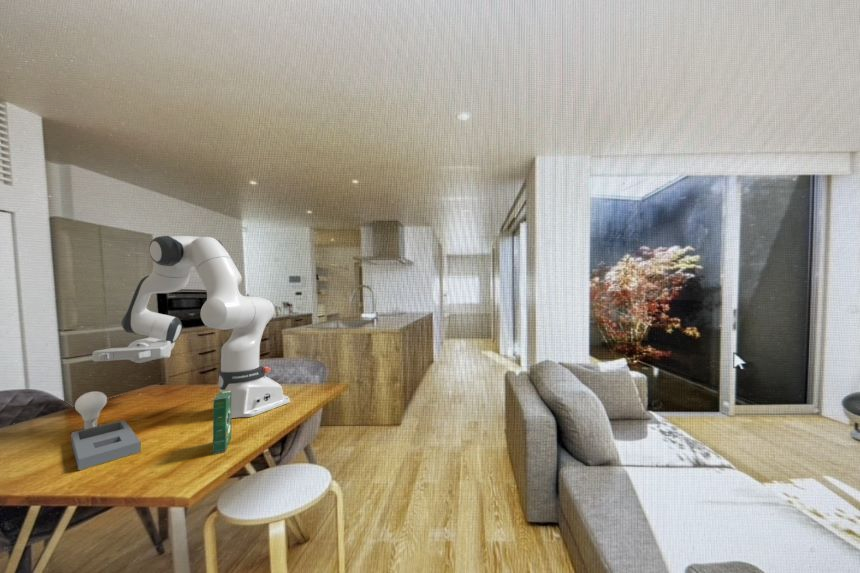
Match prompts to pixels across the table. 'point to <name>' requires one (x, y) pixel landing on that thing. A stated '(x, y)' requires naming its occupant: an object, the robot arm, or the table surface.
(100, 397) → the lightbulb
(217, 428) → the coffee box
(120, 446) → the hole board
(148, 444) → the table surface
